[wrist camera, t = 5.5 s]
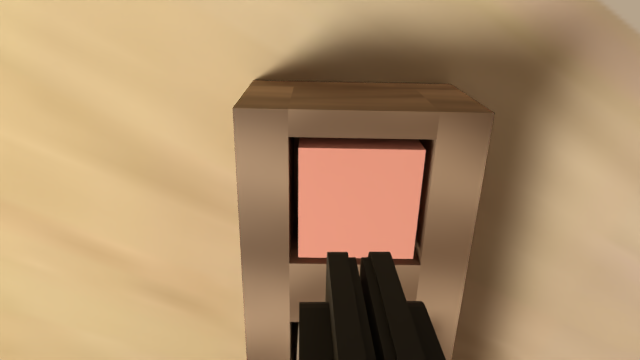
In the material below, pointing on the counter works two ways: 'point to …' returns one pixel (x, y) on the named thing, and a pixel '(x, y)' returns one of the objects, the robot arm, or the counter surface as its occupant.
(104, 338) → the counter surface
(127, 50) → the counter surface
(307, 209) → the pink block
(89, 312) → the counter surface
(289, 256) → the frame
